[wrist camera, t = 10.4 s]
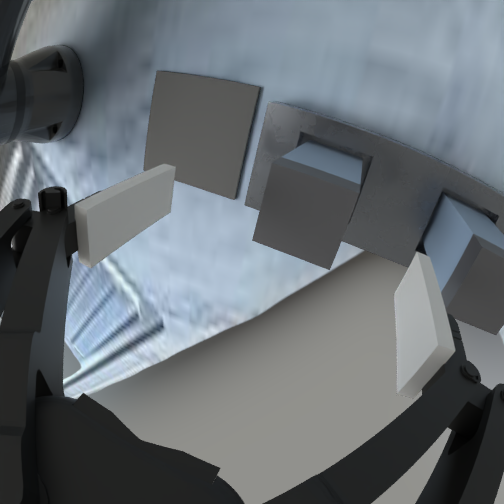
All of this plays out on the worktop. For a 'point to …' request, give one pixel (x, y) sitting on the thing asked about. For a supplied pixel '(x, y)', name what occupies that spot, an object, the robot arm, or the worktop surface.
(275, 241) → the plug
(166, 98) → the mat
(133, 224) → the robot arm
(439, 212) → the twin plug
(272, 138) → the strip
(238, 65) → the worktop surface
